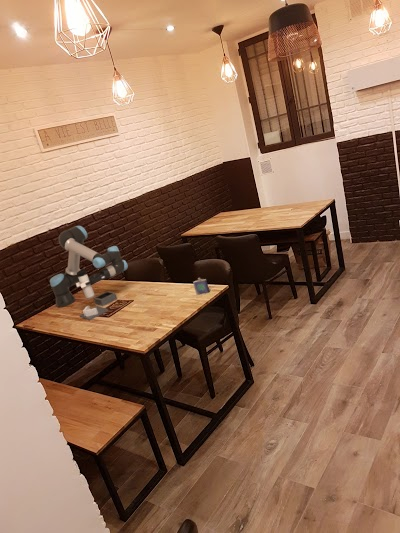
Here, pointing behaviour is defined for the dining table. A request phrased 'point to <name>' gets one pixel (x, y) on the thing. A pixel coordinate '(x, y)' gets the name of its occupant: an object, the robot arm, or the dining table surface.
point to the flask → (201, 286)
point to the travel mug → (87, 289)
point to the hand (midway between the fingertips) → (78, 285)
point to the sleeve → (105, 298)
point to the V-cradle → (92, 312)
